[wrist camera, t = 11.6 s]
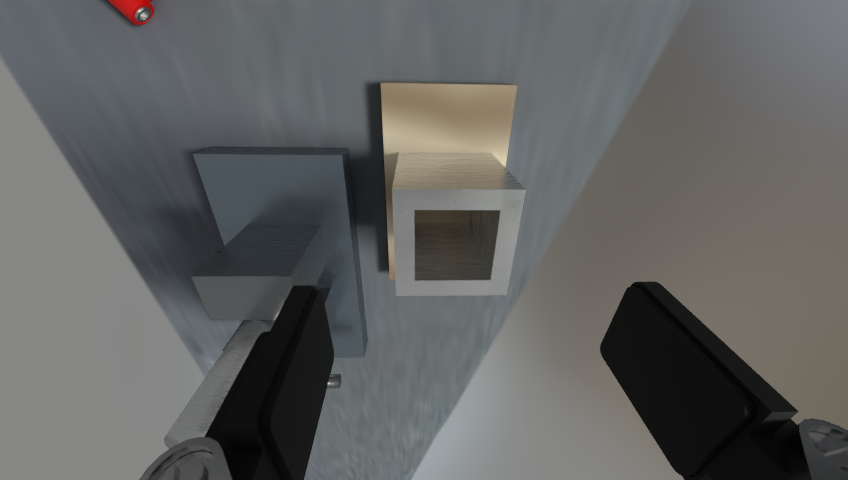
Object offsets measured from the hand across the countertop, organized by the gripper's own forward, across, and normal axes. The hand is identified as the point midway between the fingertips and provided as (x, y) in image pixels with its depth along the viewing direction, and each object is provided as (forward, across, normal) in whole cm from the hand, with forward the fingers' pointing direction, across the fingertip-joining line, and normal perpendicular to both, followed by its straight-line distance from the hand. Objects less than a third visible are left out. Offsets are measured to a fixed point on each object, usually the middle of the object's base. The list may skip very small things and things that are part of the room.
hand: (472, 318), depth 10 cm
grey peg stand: (+14, +11, +7) cm, 19 cm away
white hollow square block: (+13, 0, +1) cm, 13 cm away
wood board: (+14, 0, +1) cm, 14 cm away
